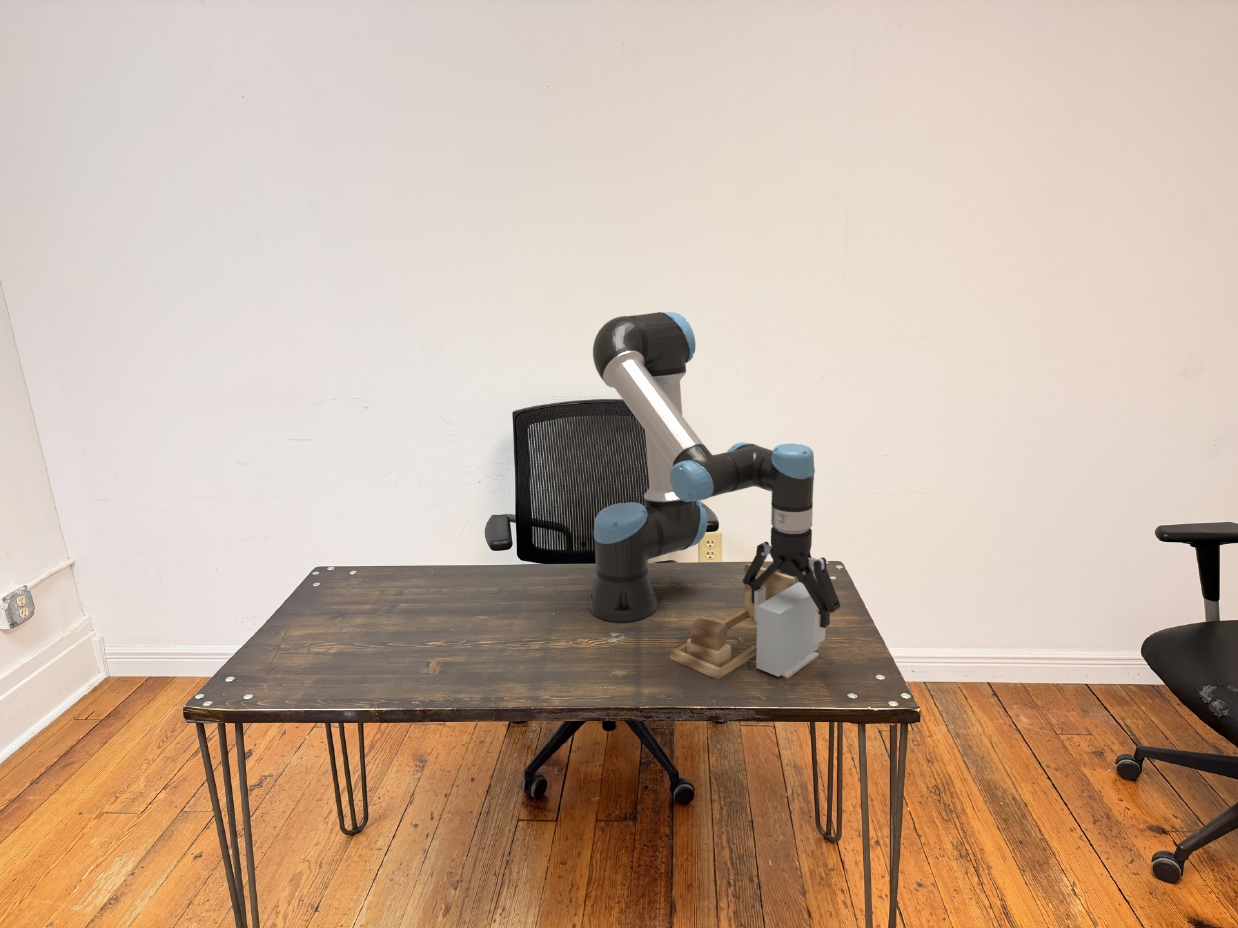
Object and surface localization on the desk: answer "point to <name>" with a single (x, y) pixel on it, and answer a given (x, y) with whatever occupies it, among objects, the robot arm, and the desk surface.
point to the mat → (800, 665)
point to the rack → (773, 587)
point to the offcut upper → (708, 634)
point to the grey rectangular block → (785, 630)
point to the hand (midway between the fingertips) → (788, 629)
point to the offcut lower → (710, 654)
